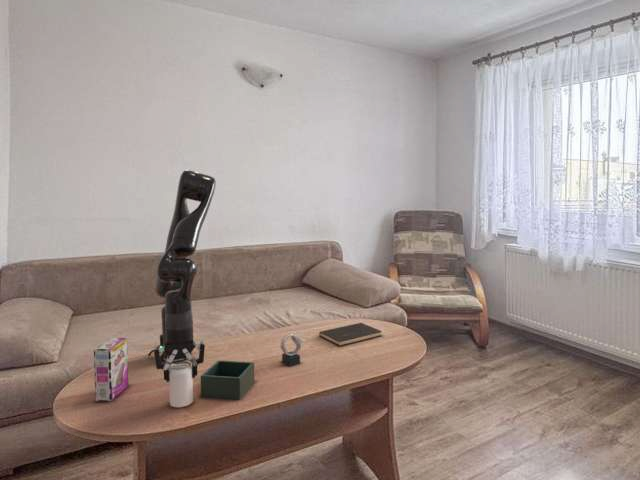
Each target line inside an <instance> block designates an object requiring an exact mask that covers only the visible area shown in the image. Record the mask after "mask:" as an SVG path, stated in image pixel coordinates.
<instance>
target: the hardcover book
mask: <svg viewBox="0 0 640 480" xmlns="http://www.w3.org/2000/svg"><path fill="white" fill-rule="evenodd" d="M318 335H319V338H322V339H324V340H327V341H328V342H330V343H332V344H334V345H335V346H338V347H344V346H348V345H351V344H356V343H359V342H363V341H367V340H372V339H376V338H380V337H383V336H382V330H380V329H378V328H376V327H372V326H370V325H368V324H365V323H363V322H358V323H354V324H353V323H352V324H348V325H344V326H339V327H334V328H330V329H326V330H321V331H319V334H318Z"/></svg>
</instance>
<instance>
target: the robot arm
mask: <svg viewBox="0 0 640 480" xmlns="http://www.w3.org/2000/svg"><path fill="white" fill-rule="evenodd" d="M216 185H217V181H216V178H215V177H214V176H212V175H208V174H205V173H201V172H198V171H195V170H190V169H185V170H183V171H182V172H181V174H180V177H179V180H178V184H177V191H176V197H175V204H174V210H173V215H172V219H171V221H170V225H169V230H168V233H167V238H166V243H165V248H164V252H163V255H162V257H161V258H160V260H159V262H158V264H157V268H156V279H155V284H154V289H155V294H156V295H157V296H158V297H159V298H161V299H164V303H165V304H164V306H162V307H161V311H160V312H161V334H160V335H159V345H157V346H156V347H154V349H152V350H150V351H149V353H147V356H148V357H150V356H151V355H152V354H154V359H155V367H156V370H162V371H163V380H164V381H166V383H169V370H170V366H171V365H172V364H173V363H177V362H184V361H186V360H188V362H189V363H191V367H192V375H193V379H196V376H198V366H199V365H200V364H203V363H204V361H205V360H204V359H205V348H206V345H205V342H204V341H200V342H195V341H194V318H193V309H192V294H193V288H194V286H195V285H194V284H195V280H196V277H197V273H198V266H197V262H196V261H195V260H193V259H192V258H188V257H191V256H193V255H194V254H195V252H196V251H197V246H198V241H199V237H200V233H201V230H202V227H203V224H204V222H205V220H206V217H207V214H208V212H209V210H210V207H211V205H212V201H213V198H214V195H215V191H216V187H217V186H216ZM188 200H191V201H195V202H199V205H198V206H197V207H196V208H195V209H193V210H192V212H191V211H190V209H189V206H188ZM195 348H196V350H197V351H198V358H195V356H194V354H193V351H194V350H195ZM162 361H163V362H164V363H163V362H162Z"/></svg>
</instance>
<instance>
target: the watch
mask: <svg viewBox="0 0 640 480" xmlns="http://www.w3.org/2000/svg"><path fill="white" fill-rule="evenodd" d="M289 338H291V341H292V342H293V343H294V344H295V345H296V347H295V349H294V350H293V351H292V350H291V351H288V350H287V348H286V345H285V344H286V342H287V340H288V339H289ZM302 344H303V341H302V339H301V338H300V337H299V335H298V334H295V333H287V334H285V335H284V336H283V337H282V339H281V341H280V349H281V351H282V352H283V353H281V362H282V363H283V364H285V365H287V366H288V367H292V366H293V367H294V366H296V365H300V364H301V355H300V354H298V353H299V352H300V350H301V348H302Z"/></svg>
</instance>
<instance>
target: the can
mask: <svg viewBox="0 0 640 480" xmlns="http://www.w3.org/2000/svg"><path fill="white" fill-rule="evenodd" d="M193 379H194V378H193V375H192V363H191V362H190V361H179V362H173V363H171V364H170V366H169V382H168V384H169V386H168V388H169V389H168V390H169V393H168V394H169V405H170V406H171V407H172V408H175V409H182V408H186V407H188V406H190V405H191V404H192V403H193V402H194V380H193Z"/></svg>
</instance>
